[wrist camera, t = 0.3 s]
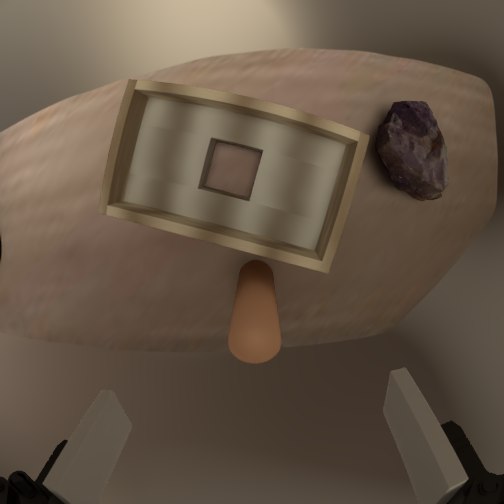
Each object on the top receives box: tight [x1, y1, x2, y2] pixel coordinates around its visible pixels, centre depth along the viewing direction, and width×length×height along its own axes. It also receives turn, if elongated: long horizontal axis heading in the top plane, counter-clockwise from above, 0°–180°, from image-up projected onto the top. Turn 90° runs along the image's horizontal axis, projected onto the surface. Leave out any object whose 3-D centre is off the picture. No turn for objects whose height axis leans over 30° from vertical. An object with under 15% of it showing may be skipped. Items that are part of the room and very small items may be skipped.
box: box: [98, 79, 370, 273], centre depth 29 cm, size 24×14×8 cm, turn 75°
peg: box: [228, 260, 281, 363], centre depth 29 cm, size 4×4×15 cm
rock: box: [375, 101, 448, 201], centre depth 28 cm, size 12×9×10 cm
